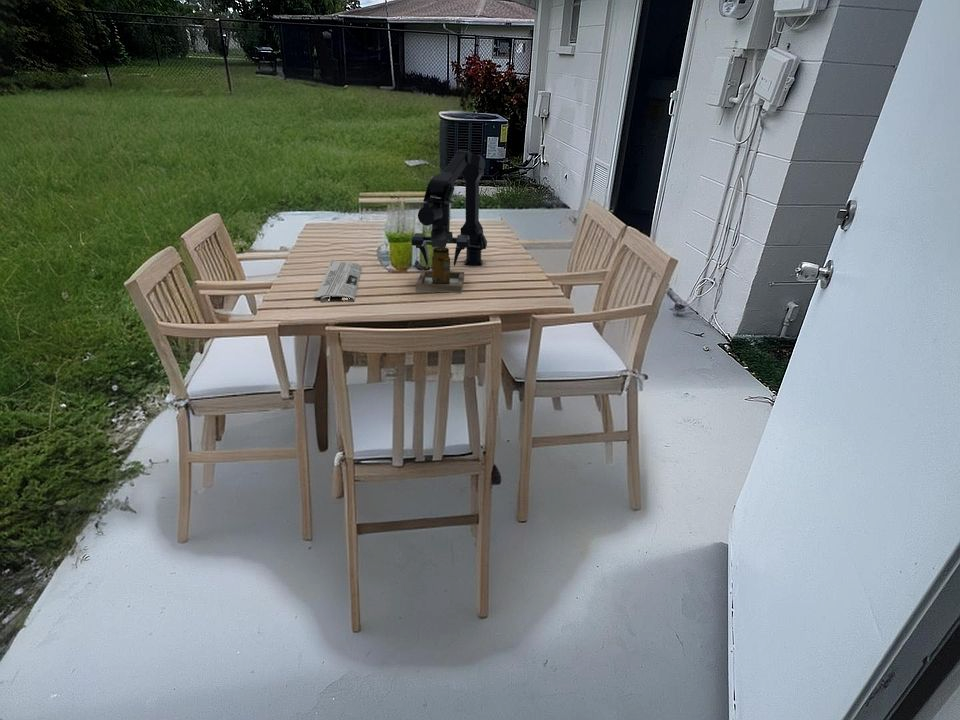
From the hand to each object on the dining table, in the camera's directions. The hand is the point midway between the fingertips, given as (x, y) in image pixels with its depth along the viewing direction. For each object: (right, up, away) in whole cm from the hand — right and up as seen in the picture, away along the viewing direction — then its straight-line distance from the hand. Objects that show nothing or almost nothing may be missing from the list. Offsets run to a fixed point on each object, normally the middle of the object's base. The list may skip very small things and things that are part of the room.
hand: (440, 265), depth 191 cm
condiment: (0, -6, +3) cm, 7 cm away
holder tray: (0, -6, +3) cm, 7 cm away
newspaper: (-35, -6, +2) cm, 35 cm away
